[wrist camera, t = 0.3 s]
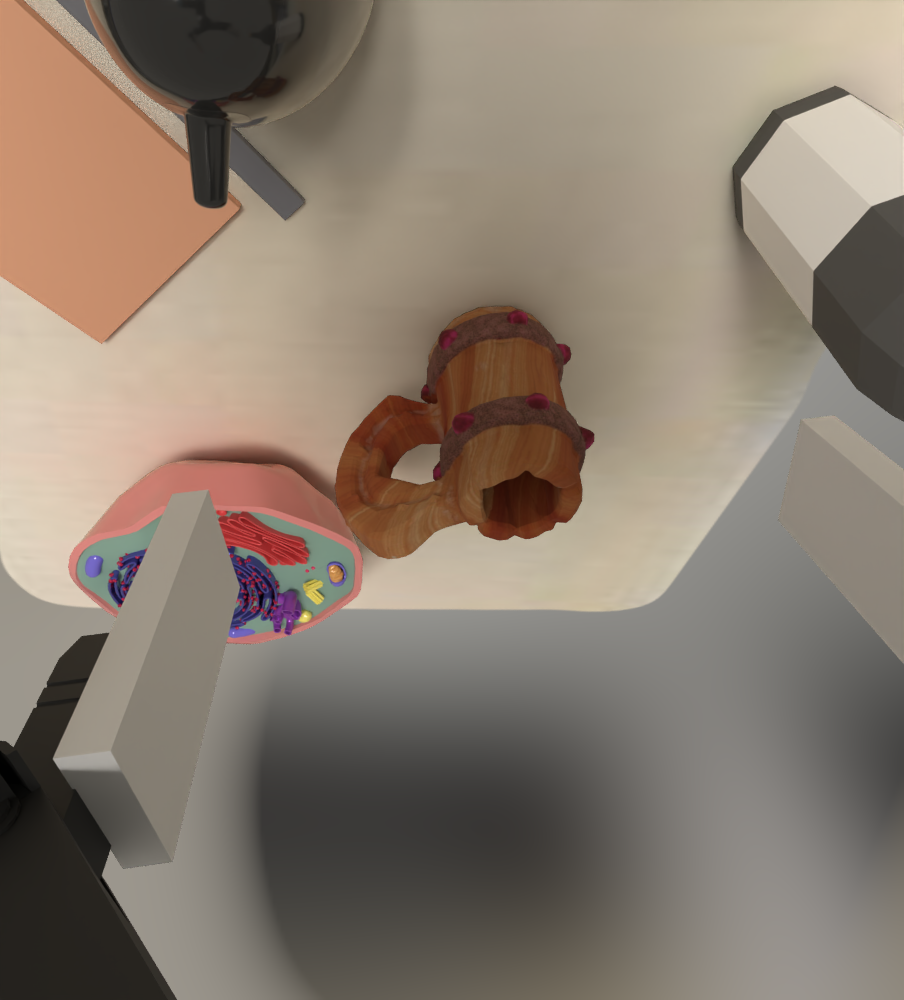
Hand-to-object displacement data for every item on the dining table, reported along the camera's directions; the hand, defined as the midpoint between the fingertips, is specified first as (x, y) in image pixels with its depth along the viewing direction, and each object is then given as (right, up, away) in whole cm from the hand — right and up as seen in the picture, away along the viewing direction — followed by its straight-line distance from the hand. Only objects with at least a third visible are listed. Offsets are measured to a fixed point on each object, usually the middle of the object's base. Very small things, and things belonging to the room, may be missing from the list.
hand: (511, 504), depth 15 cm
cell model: (-18, +1, +38) cm, 42 cm away
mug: (-1, +10, +29) cm, 31 cm away
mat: (-22, +16, +20) cm, 34 cm away
